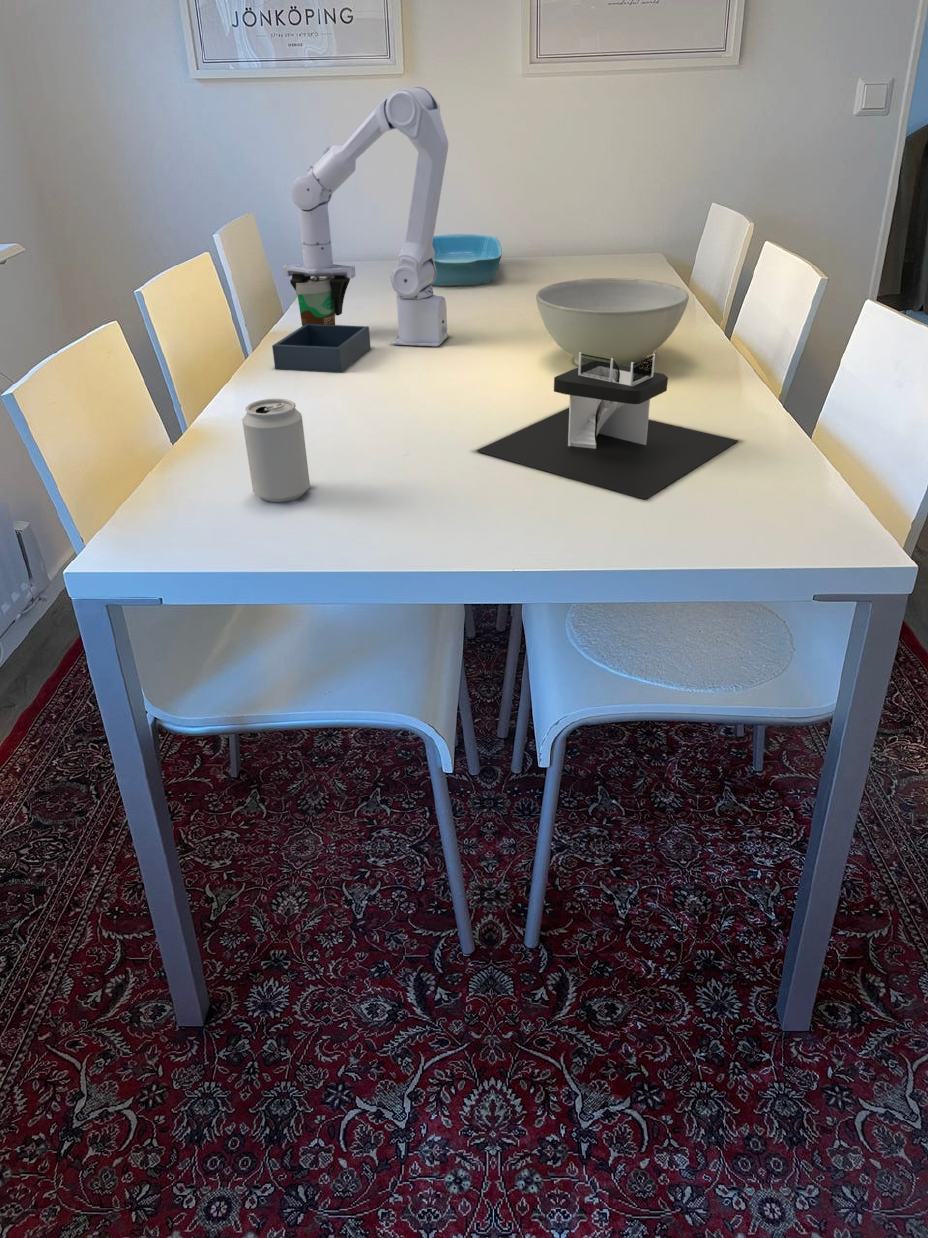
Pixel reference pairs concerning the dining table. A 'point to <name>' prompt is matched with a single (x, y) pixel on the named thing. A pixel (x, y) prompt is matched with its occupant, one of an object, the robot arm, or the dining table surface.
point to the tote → (321, 347)
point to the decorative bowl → (611, 316)
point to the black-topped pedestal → (610, 432)
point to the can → (276, 450)
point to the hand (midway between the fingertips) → (323, 313)
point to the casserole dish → (465, 259)
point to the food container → (316, 301)
